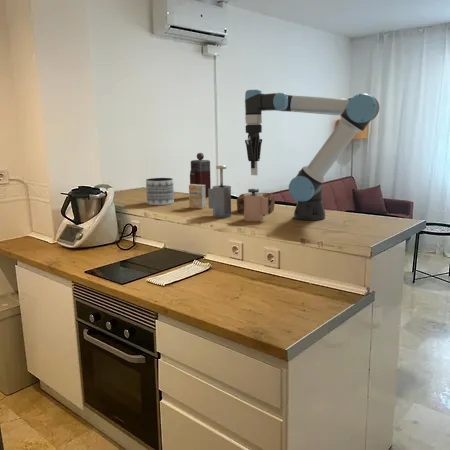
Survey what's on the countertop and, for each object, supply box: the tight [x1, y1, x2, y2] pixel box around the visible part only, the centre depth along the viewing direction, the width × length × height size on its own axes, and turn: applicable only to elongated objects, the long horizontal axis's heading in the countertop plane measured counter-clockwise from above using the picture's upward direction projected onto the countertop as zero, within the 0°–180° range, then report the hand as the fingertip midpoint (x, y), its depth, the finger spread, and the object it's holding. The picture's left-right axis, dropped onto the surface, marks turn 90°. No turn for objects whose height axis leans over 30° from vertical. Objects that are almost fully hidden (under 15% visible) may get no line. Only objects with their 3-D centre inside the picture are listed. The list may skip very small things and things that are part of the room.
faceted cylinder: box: [207, 184, 232, 219], centre depth 234 cm, size 9×12×15 cm
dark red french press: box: [189, 152, 212, 198], centre depth 296 cm, size 9×11×28 cm
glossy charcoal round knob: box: [247, 188, 260, 196], centre depth 224 cm, size 5×5×12 cm
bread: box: [236, 192, 276, 214], centre depth 246 cm, size 19×11×10 cm, turn 72°
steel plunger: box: [215, 165, 227, 187], centre depth 231 cm, size 5×5×13 cm
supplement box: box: [188, 184, 207, 210], centre depth 258 cm, size 8×5×13 cm, turn 68°
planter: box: [145, 177, 175, 206], centre depth 276 cm, size 16×16×14 cm
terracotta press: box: [243, 193, 269, 222], centre depth 224 cm, size 9×12×12 cm
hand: (254, 175), depth 221 cm, fingers closed
